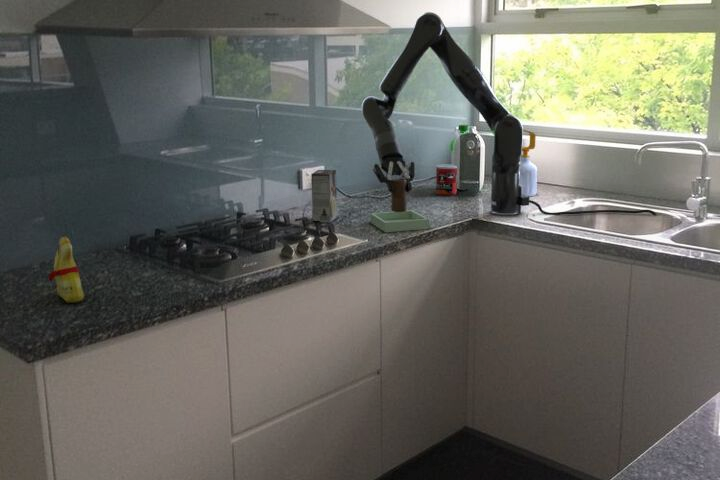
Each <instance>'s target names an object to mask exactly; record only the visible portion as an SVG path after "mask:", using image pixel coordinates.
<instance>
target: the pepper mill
mask: <svg viewBox="0 0 720 480" xmlns="http://www.w3.org/2000/svg"><path fill="white" fill-rule="evenodd" d="M391 180H392V182H393V186H394V189H395V190H394V193H391V192H390V210H391V211H390V212H405V211H407V191H406V179H402V178H400V177H399V178H397V177H395V178H391Z"/></svg>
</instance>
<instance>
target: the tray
mask: <svg viewBox="0 0 720 480" xmlns="http://www.w3.org/2000/svg"><path fill="white" fill-rule="evenodd" d="M369 216H370V217H369V218H370V221H369V222H370V224H372V225H373V226H375V227H376V228H377V229H379V230H381V231H382V232H384V233H394V232H405V231H419V230H429V229H430V219H429V218H428V217H426V216H424V215H422V214H420V213H418V212H417V211H415V210H413V209H406V211H405V212H393V211H383V212H371V213H370V215H369Z"/></svg>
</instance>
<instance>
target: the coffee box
mask: <svg viewBox="0 0 720 480" xmlns="http://www.w3.org/2000/svg"><path fill="white" fill-rule="evenodd" d="M310 174H311V208H312V221H313V220H316V219H318V220H320V221H321V222H320V223H332V222H333V221H334V220H335V219H336V218H337V217H338V201H337V200H338V199H337V198H338V197H337V195H338V194H337V169H318V170H315V171H314V172H312V173H310Z"/></svg>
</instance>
